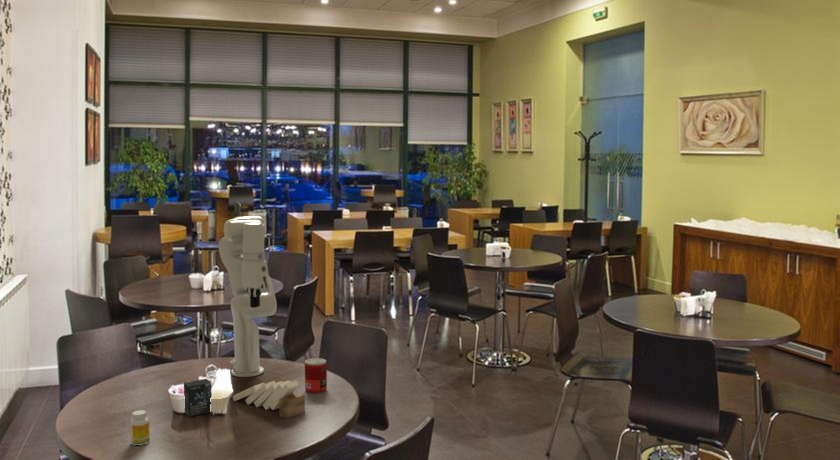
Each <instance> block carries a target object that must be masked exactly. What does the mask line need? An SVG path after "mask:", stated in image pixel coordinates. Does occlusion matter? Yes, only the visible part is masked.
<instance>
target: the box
mask: <svg viewBox="0 0 840 460" xmlns="http://www.w3.org/2000/svg"><path fill="white" fill-rule="evenodd" d="M183 392H184V393H183V397H184V396H185V408H184V413H185V414H186V415H187V417H189V418H191V417H195V416H199V415H205V414H206V415H207V414H211V412H210V404H211V402H210V398H211V397H212V382H211V381H209V380H208V379H207V378H204V379H197V380H192V381H184V382H183Z"/></svg>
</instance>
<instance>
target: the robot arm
mask: <svg viewBox="0 0 840 460" xmlns="http://www.w3.org/2000/svg"><path fill="white" fill-rule="evenodd" d="M266 229H267V228H266V221H265V220H264V218H263V217H261V216H259V215H249V216H248V215H247V216H246V215H245V216H235V217H233V218H231V219H228V220H226V221H225V222H224V225H223V235H224V236H223V237H222V238H221V239H220V240H219V242H218V250H219V251H218V252H219V257H220V259H221V261H222V263H223V265H224V267H225V268H226V270H227V273H228V274H227V275H228V278H229V284H230V289H231V292H232V294H233V295H234V296H233V297H232V298H231V300H230V310H231V315H232V321H233V322H232V323H233V345H234V347H233V348H234V358H233V359H232V360H231V361H229V365H230V366H232V367H233V368H232V369H231V371H230V374H231V376H233V377H237V378H251V377H256V376H260V375H262V374H263V373H265V370H264V367H262V366H260V365H261V363H260V362H261V361H260V331H259V326H258V325H257V323H256V322H255V321H254V320H253V319H254V318H263V317H269V316H270V317H271V316H274V315H275V314H276V312H277V308H278V306H277V304H278V303H277V298H276V294H275V291H274V286H273V282H272V279H271V276H270V275H269V269H268V264H267V260H265V259H266V255H265V237H266V231H267V230H266ZM239 256H243V257H242V258H241V257H239Z"/></svg>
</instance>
